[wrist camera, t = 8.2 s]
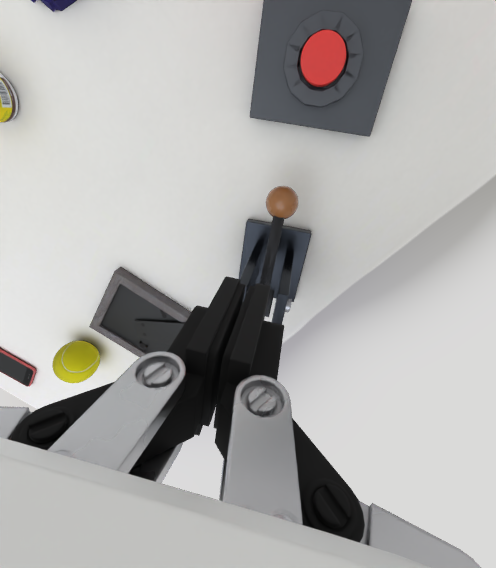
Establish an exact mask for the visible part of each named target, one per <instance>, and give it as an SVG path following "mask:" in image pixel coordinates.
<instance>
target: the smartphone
mask: <svg viewBox="0 0 496 568" xmlns="http://www.w3.org/2000/svg"><path fill="white" fill-rule="evenodd" d="M0 372H2V373H4V374H5V375H7V376H9V377H11V378H13V379H14V380H16V381H18V382H20V383H22V384H23V385H25V386H30V385H31V384H32V381H33V379H34V376H35V373H36V369H35V368H33V367H32V366H30V365H28V364H26V363H25V362H23V361H21V360H19V359H17V358H16V357H14V356H12V355H10V354H9V353H7V352H5V351H3V350H2V349H0Z"/></svg>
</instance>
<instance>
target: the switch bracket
mask: <svg viewBox="0 0 496 568" xmlns="http://www.w3.org/2000/svg"><path fill="white" fill-rule="evenodd" d="M271 225H272V223H268V222H263V221H258V220H253V219H248V220H247V222H246V229H245V237H244V244H243V251H242V258H241V266H240V273H239V279H240V280H241V284H245V292H244V299H245V296H246V294H247V291H248V288H249V286H253V285H254V284H255V283H260V278H261V274H262V269H263V264H264V259H265V254H266V249H267V245H268V240H269V235H270V230H271ZM310 237H311V231H310V230H305V229H300V228H294V227H289V226H284V225H283V228H282V232H281V237H280V242H279V246H278V251H277V256H276V261H275V265H274V270H273V275H272V279H271V284H270V286H271V287H275V291H274V295H273V298H276V302H275V307H274V313H273V318H272V323H276V324H281V325H282V321H283V317H284V313H285V312H289V310H290V306H291V302H294V299H295V295H296V291H297V287H298V283H299V280H300V276H301V272H302V268H303V264H304V260H305V256H306V253H307V249H308V245H309V241H310ZM244 299H243V302H244Z"/></svg>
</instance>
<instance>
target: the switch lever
mask: <svg viewBox="0 0 496 568" xmlns="http://www.w3.org/2000/svg"><path fill="white" fill-rule="evenodd" d="M266 207H267V210H268V212H269V213H270V214H271V215H272V216H273V221H272V225H271V230H270V235H269V240H268V245H267V249H266V254H265V259H264V264H263V269H262V274H261V278H260V283H259V284H263V285H268V286H270V284H271V279H272V275H273V270H274V265H275V261H276V256H277V251H278V246H279V242H280V237H281V232H282V228H283V223H284V219H286V218H289V217H290V216H292V215H293V214H294V213H295V211H296V210H297V207H298V197H297V195H296V193H295V191H294V190H292V189H291V188H289V187H287V186H278V187H276V188H274V189H273V190H271V191H270V193H269V194H268V196H267V199H266ZM255 285H256V283H255V284H254V285H253V286H254V287H255ZM274 291H275V287H270V292H269V297H268V302H267V307H266V312H265V316H267V317H269V314H270V309H271V305H272V300H273V295H274Z"/></svg>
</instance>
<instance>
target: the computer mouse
mask: <svg viewBox="0 0 496 568" xmlns="http://www.w3.org/2000/svg"><path fill="white" fill-rule="evenodd" d="M31 1H32V2H34V3H36V2H37V1H38V0H31ZM41 1H42V2H43V3H44V4H45V5H46V6H47V7H48V8H50V9H51V10H52V11H53V12H54V11H55V10H61V11H62V10H64V9H65V8H67V7H68V6H69V5H71V4H72V3H74V2H75V1H77V0H41Z"/></svg>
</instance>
